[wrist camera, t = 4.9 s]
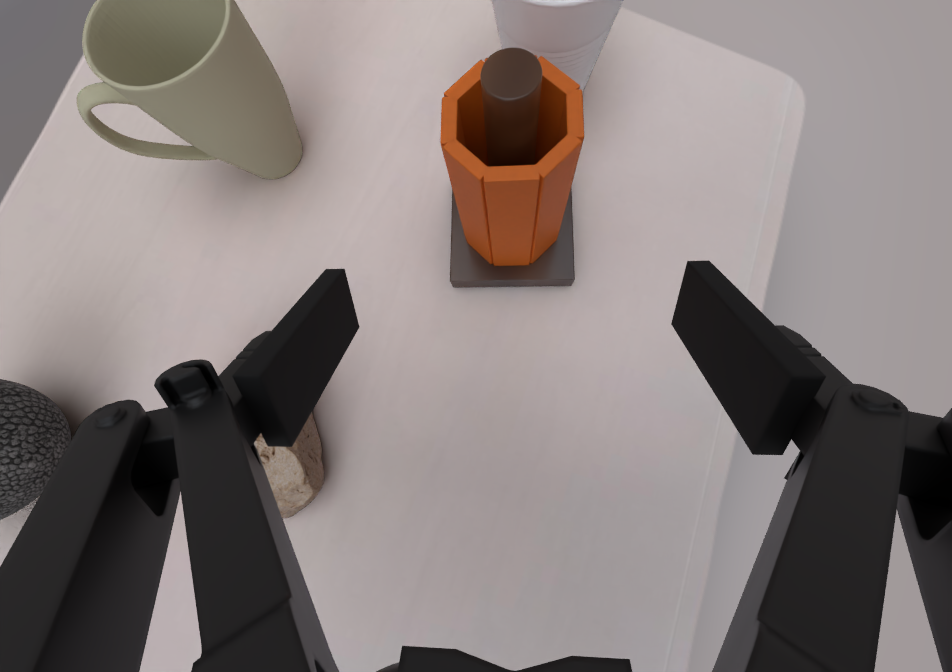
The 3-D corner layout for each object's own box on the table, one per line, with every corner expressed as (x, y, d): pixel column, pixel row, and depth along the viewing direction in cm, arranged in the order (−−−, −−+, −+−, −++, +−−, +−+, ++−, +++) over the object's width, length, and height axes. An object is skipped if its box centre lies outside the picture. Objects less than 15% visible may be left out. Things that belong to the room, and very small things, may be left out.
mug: (248, 93, 36) (121, -61, 24) (343, 125, 35) (257, -22, 23) (187, 198, 35) (21, 87, 23) (284, 237, 33) (160, 140, 21)
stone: (316, 348, 31) (280, 337, 26) (343, 501, 29) (309, 520, 24) (208, 378, 31) (152, 372, 27) (226, 531, 29) (169, 555, 24)
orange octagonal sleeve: (556, 179, 30) (580, 50, 20) (558, 264, 29) (586, 177, 18) (466, 182, 31) (442, 59, 20) (465, 266, 30) (438, 183, 19)
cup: (633, 87, 33) (692, -72, 22) (540, 160, 32) (555, 35, 22) (552, 15, 35) (570, -163, 24) (463, 83, 34) (442, -67, 24)
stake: (568, 177, 32) (616, -24, 17) (571, 285, 30) (628, 165, 16) (455, 181, 33) (409, -8, 18) (452, 287, 31) (400, 174, 16)
